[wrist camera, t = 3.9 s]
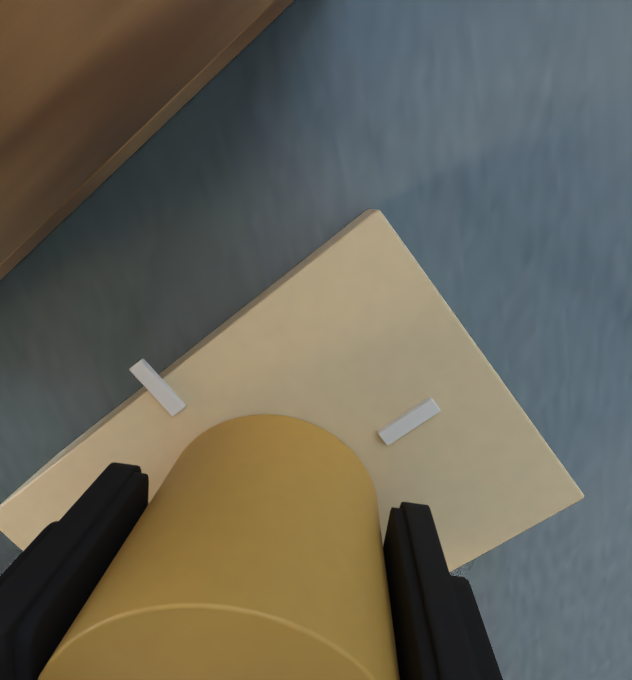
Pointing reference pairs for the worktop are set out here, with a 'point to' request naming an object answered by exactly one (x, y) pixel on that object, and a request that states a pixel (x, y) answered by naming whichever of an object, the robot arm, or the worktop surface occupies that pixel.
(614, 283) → the worktop surface
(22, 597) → the robot arm
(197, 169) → the worktop surface
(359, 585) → the lock knob
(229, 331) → the lock plate
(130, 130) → the chest
